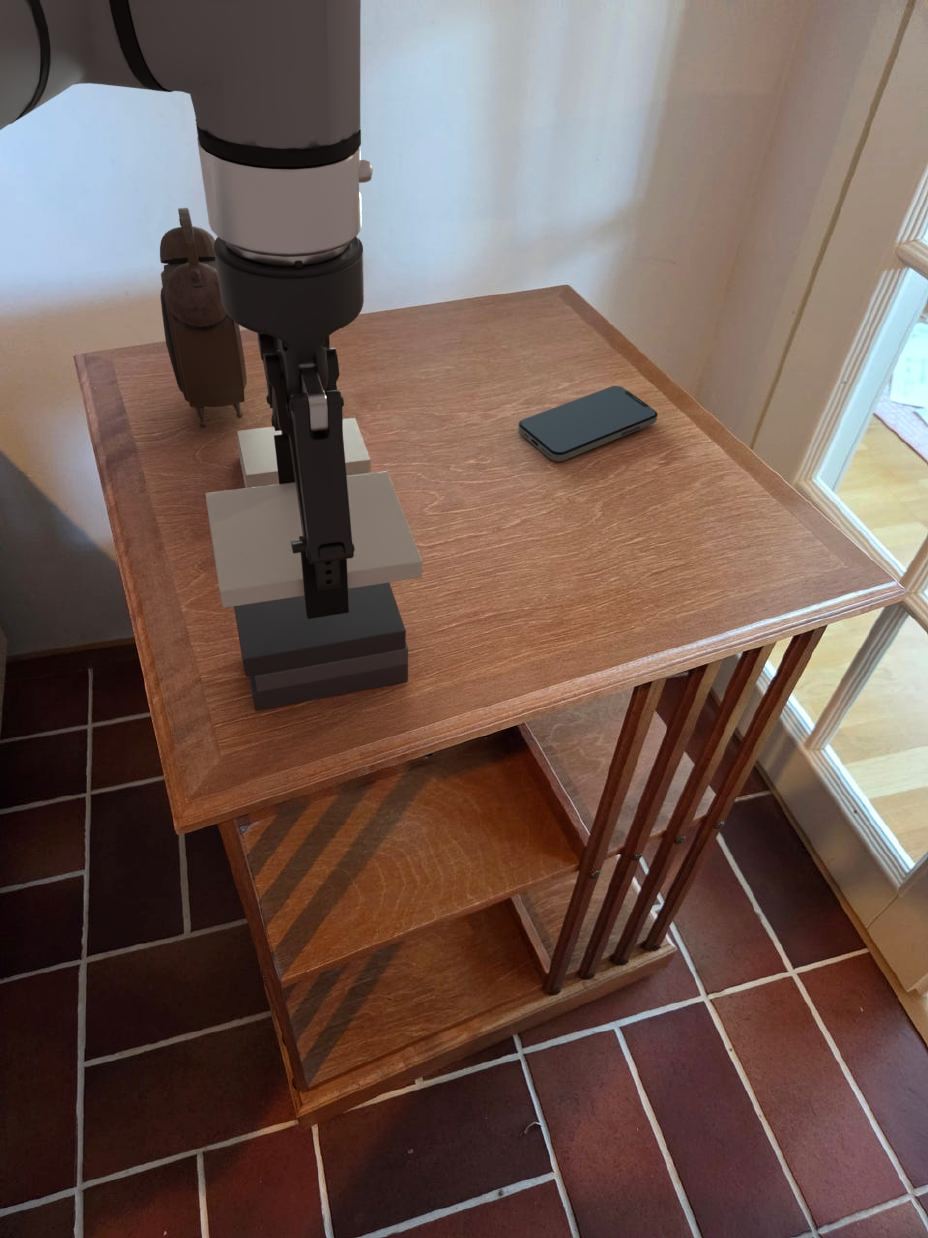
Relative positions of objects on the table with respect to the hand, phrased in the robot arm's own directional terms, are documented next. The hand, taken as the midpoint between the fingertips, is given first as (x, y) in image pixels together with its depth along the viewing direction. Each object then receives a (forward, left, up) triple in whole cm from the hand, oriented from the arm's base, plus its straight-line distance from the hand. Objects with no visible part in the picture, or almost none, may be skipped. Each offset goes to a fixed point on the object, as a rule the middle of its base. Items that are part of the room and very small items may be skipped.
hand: (313, 558), depth 58 cm
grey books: (0, 0, -12) cm, 12 cm away
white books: (-11, +24, -12) cm, 29 cm away
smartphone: (+16, +41, -12) cm, 46 cm away
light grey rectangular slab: (0, 0, +1) cm, 1 cm away
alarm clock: (-24, +32, -12) cm, 42 cm away
